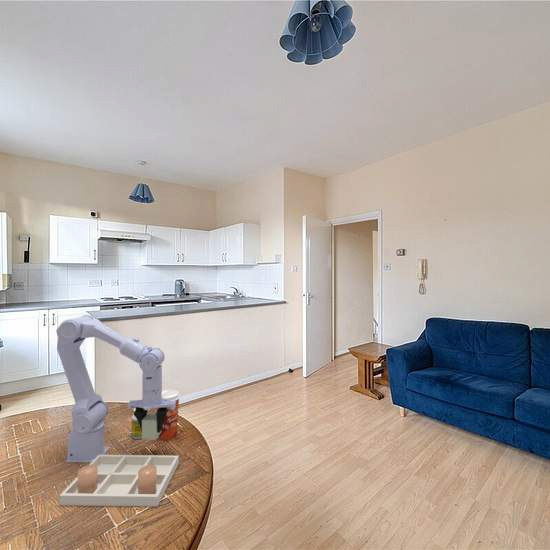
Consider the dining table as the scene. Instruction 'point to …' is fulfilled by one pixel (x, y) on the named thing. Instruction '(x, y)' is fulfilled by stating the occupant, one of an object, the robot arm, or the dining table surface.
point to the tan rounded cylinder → (88, 479)
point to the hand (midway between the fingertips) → (151, 430)
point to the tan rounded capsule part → (147, 480)
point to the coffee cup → (170, 416)
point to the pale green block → (150, 427)
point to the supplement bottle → (136, 428)
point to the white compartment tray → (122, 481)
